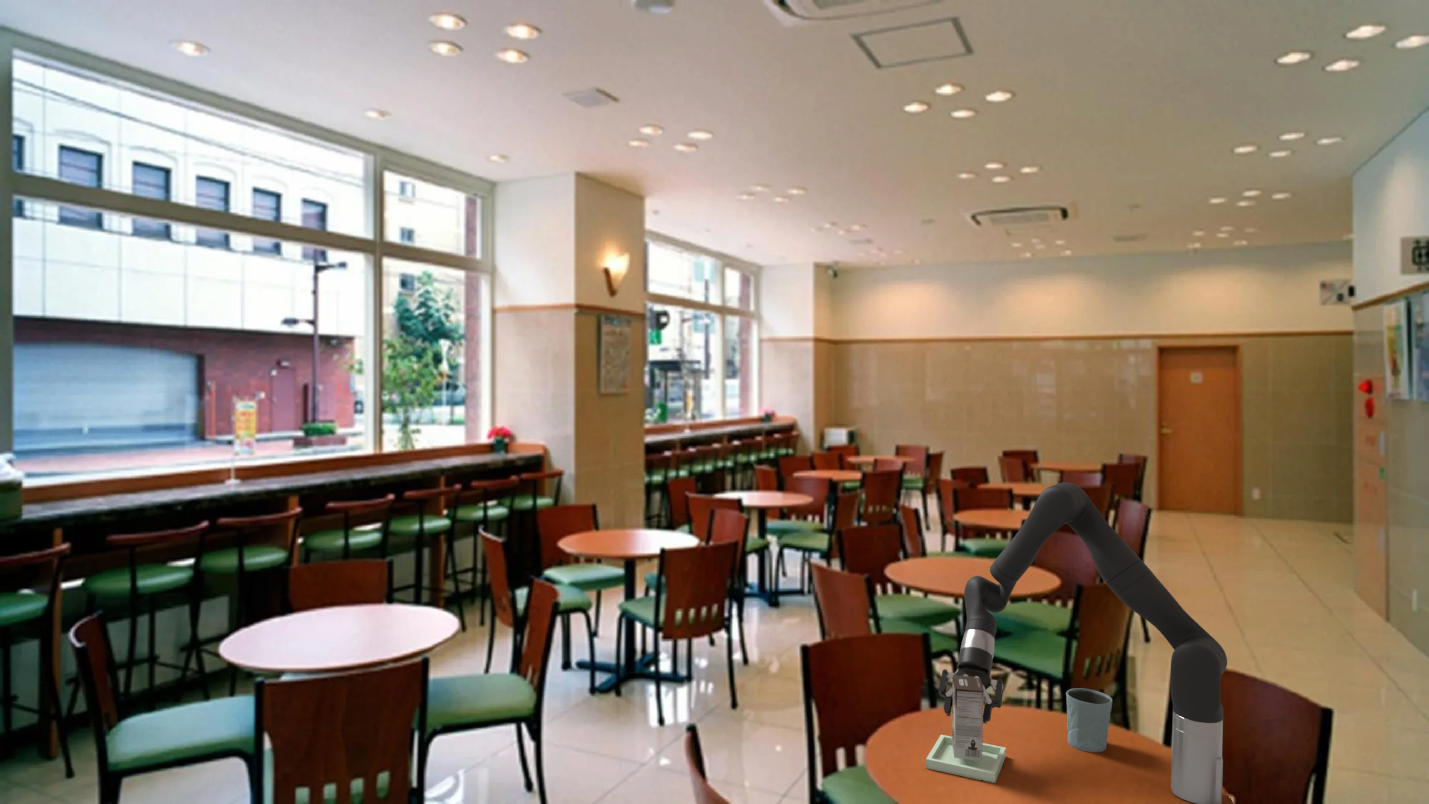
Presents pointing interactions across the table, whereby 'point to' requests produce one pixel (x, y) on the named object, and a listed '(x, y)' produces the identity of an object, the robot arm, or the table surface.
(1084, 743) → the blue-grey cup
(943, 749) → the tray
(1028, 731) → the table surface
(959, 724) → the coffee box
